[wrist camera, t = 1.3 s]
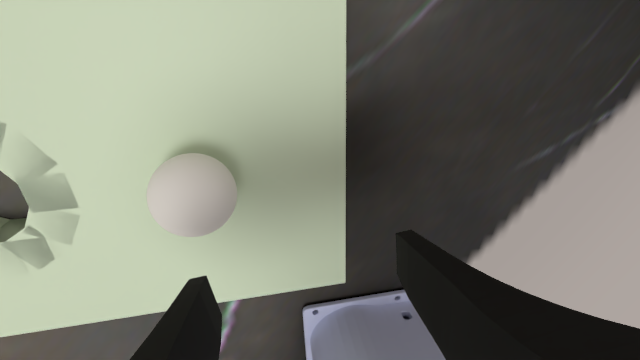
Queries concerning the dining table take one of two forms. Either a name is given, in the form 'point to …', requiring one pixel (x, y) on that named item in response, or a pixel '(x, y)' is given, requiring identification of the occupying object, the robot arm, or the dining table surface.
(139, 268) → the putting deck
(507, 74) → the dining table surface
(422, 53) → the dining table surface
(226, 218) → the ball
